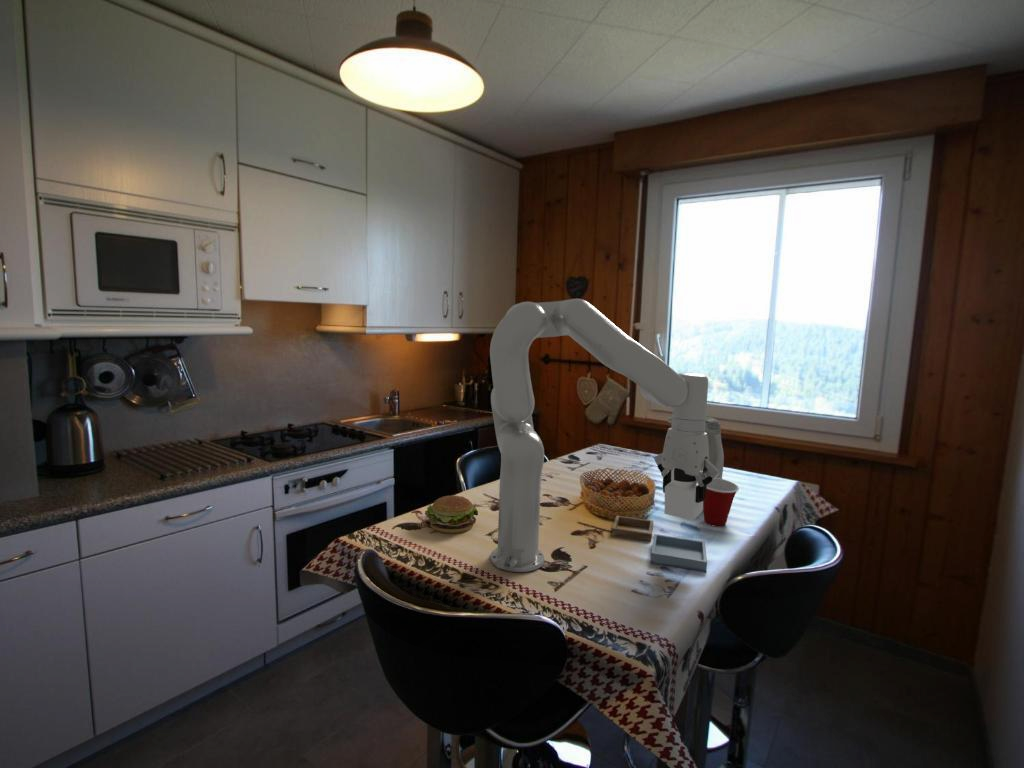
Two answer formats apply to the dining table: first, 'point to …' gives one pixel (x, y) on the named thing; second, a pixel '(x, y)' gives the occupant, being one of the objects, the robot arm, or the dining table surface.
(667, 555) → the tray
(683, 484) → the medicine bottle
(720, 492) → the plastic cup
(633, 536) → the collar
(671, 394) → the robot arm
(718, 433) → the grey bottle
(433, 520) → the food
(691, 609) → the dining table surface
